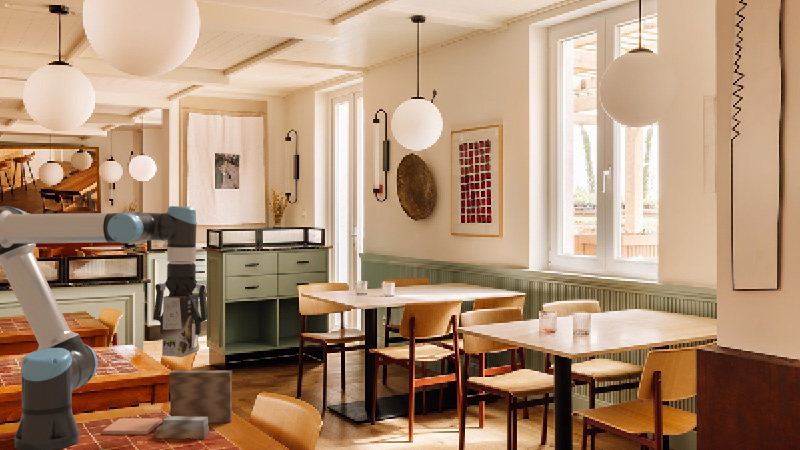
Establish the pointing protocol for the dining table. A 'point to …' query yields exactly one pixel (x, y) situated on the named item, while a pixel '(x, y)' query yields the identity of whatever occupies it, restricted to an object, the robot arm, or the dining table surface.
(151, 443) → the dining table surface
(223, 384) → the brown rectangular wooden panel
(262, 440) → the dining table surface
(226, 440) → the dining table surface
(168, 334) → the coffee box
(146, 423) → the terracotta tile
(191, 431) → the offcut stack
